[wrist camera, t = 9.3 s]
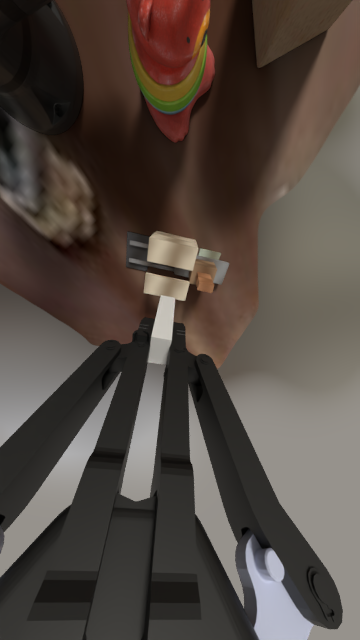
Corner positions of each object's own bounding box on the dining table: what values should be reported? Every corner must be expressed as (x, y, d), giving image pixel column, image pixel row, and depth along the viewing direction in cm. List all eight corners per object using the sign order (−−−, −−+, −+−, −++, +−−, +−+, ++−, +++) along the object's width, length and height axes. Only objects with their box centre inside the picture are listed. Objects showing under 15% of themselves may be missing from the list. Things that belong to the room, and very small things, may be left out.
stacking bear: (179, 149, 31) (180, 114, 17) (127, 99, 28) (72, 0, 13) (220, 66, 26) (272, -88, 12) (162, -9, 22) (134, -364, 8)
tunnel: (126, 272, 44) (113, 287, 36) (128, 223, 38) (113, 228, 30) (208, 289, 46) (213, 307, 38) (222, 246, 40) (232, 256, 32)
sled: (174, 272, 42) (170, 294, 32) (178, 251, 39) (176, 267, 29) (220, 282, 43) (231, 306, 33) (228, 262, 41) (242, 281, 30)
